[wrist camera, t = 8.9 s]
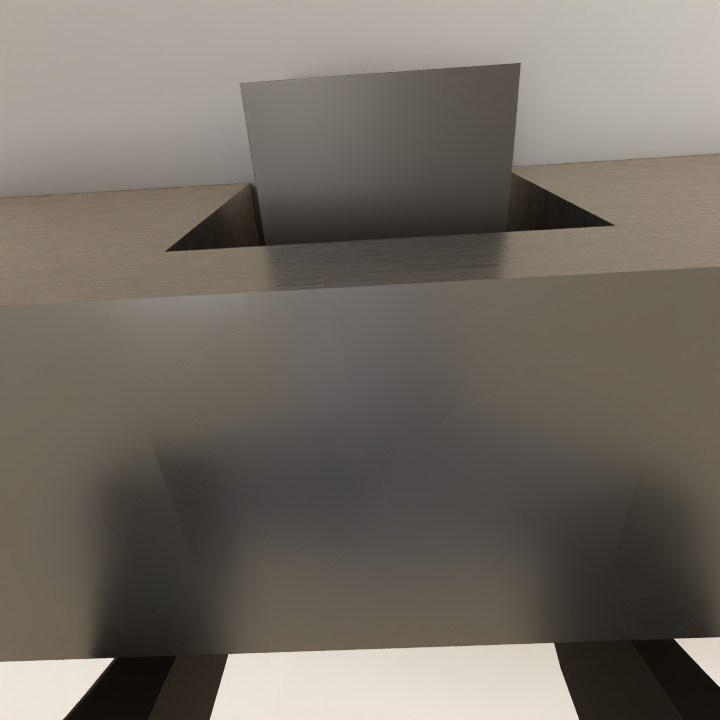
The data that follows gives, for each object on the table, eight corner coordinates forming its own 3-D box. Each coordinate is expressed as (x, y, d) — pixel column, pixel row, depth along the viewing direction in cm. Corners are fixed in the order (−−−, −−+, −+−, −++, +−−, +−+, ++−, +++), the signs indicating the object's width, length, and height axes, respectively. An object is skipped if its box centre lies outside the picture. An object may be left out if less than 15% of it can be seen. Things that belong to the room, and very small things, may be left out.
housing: (-37, 200, 9) (-541, 335, 4) (807, 148, 9) (1445, 226, 4) (56, 412, 12) (-188, 667, 7) (724, 379, 11) (1039, 626, 6)
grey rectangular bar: (277, 86, 9) (239, 83, 6) (470, 72, 8) (520, 62, 6) (332, 527, 14) (325, 628, 11) (451, 521, 14) (473, 623, 11)
